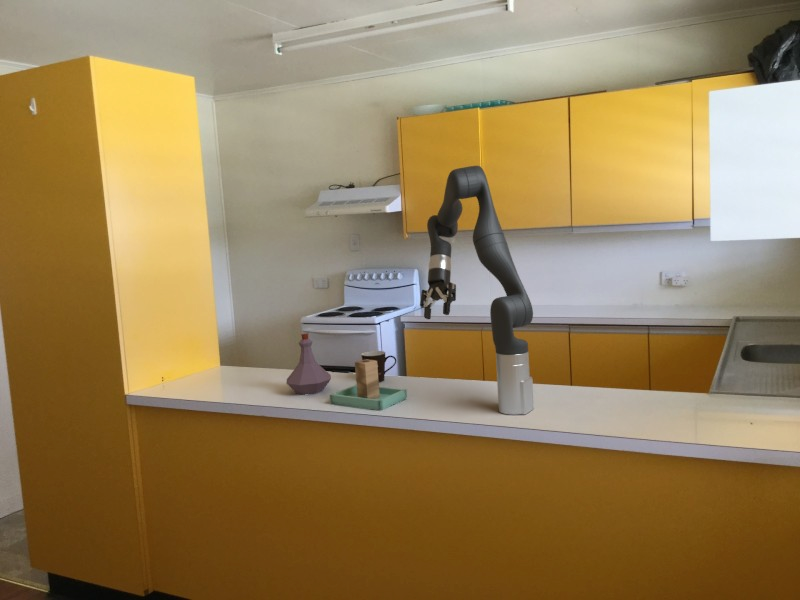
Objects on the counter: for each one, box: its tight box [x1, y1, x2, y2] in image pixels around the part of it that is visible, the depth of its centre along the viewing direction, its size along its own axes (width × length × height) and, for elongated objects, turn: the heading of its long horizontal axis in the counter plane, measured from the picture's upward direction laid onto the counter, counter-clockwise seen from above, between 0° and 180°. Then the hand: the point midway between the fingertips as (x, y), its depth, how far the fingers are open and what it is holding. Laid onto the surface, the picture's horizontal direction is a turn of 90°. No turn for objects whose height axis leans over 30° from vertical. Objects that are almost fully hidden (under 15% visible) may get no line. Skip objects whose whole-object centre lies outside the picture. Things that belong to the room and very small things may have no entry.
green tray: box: [329, 383, 408, 411], centre depth 215 cm, size 20×14×3 cm
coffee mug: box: [360, 350, 397, 383], centre depth 241 cm, size 12×9×10 cm
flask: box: [286, 333, 332, 396], centre depth 232 cm, size 16×16×20 cm
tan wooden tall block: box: [354, 359, 380, 399], centre depth 214 cm, size 5×5×12 cm
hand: (436, 316), depth 222 cm, fingers open, 8 cm apart
